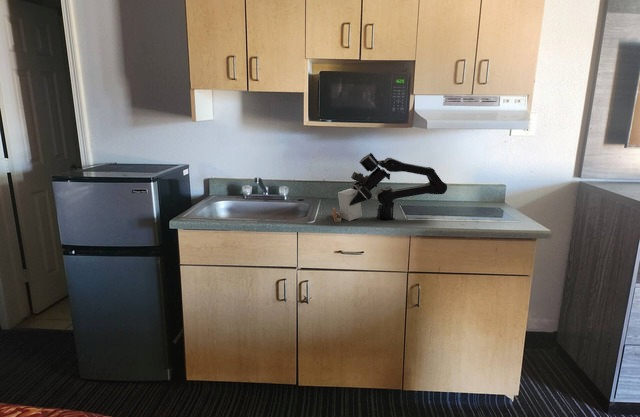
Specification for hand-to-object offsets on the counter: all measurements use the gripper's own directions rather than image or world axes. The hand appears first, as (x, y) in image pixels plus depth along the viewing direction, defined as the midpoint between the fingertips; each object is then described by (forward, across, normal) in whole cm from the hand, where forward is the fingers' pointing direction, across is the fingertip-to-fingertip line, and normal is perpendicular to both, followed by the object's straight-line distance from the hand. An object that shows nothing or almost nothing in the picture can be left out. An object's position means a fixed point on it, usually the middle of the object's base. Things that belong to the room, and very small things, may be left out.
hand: (348, 202), depth 194 cm
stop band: (+9, -1, +2) cm, 10 cm away
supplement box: (+4, 0, +7) cm, 8 cm away
